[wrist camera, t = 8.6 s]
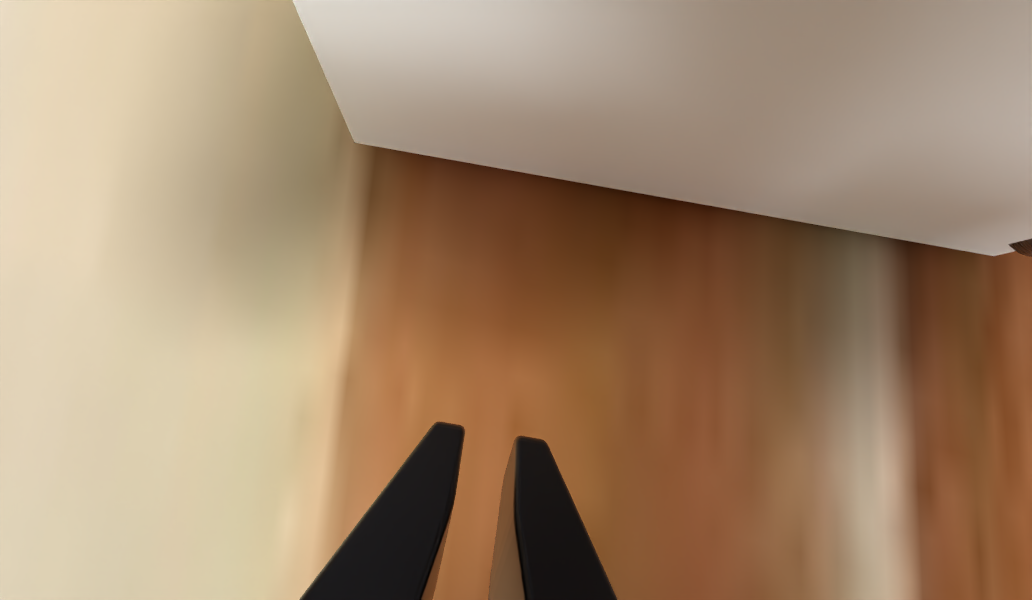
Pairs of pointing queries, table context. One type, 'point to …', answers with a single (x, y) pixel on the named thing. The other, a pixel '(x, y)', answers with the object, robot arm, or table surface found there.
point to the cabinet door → (713, 102)
